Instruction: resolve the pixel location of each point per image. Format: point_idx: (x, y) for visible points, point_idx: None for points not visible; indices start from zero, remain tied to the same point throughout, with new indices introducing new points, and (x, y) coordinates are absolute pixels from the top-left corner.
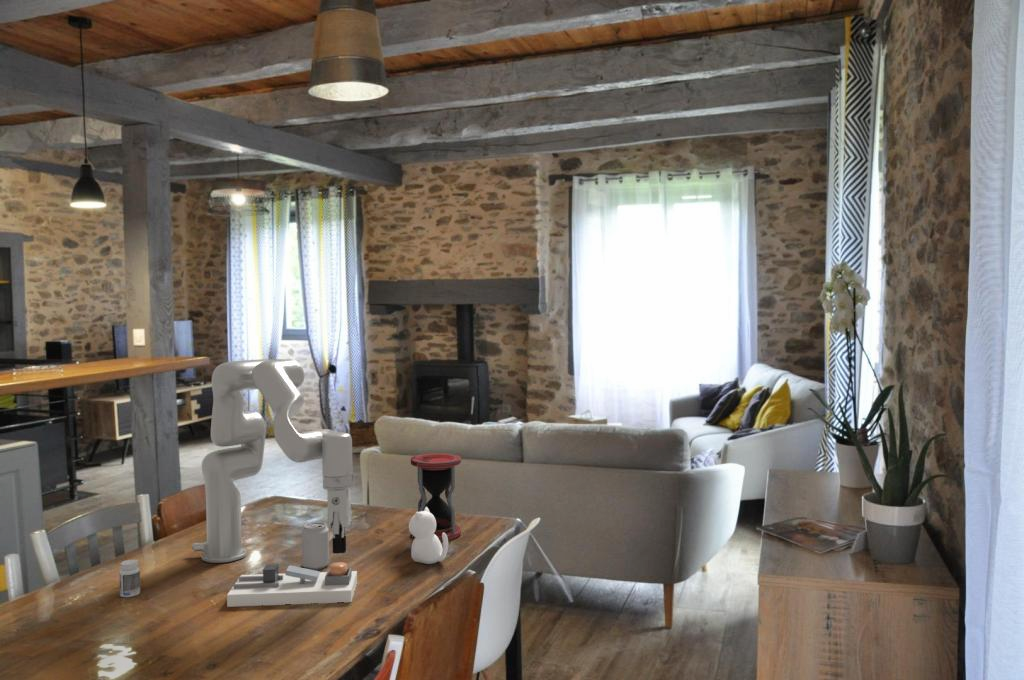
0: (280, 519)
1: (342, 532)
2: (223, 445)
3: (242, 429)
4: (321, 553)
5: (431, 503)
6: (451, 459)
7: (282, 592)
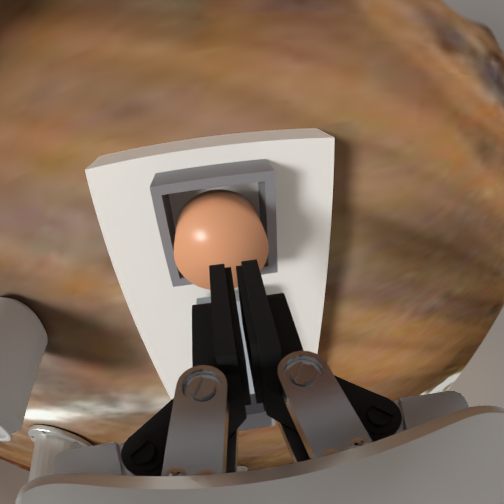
0: None
1: (347, 404)
2: None
3: None
4: (12, 338)
5: None
6: None
7: (316, 342)
